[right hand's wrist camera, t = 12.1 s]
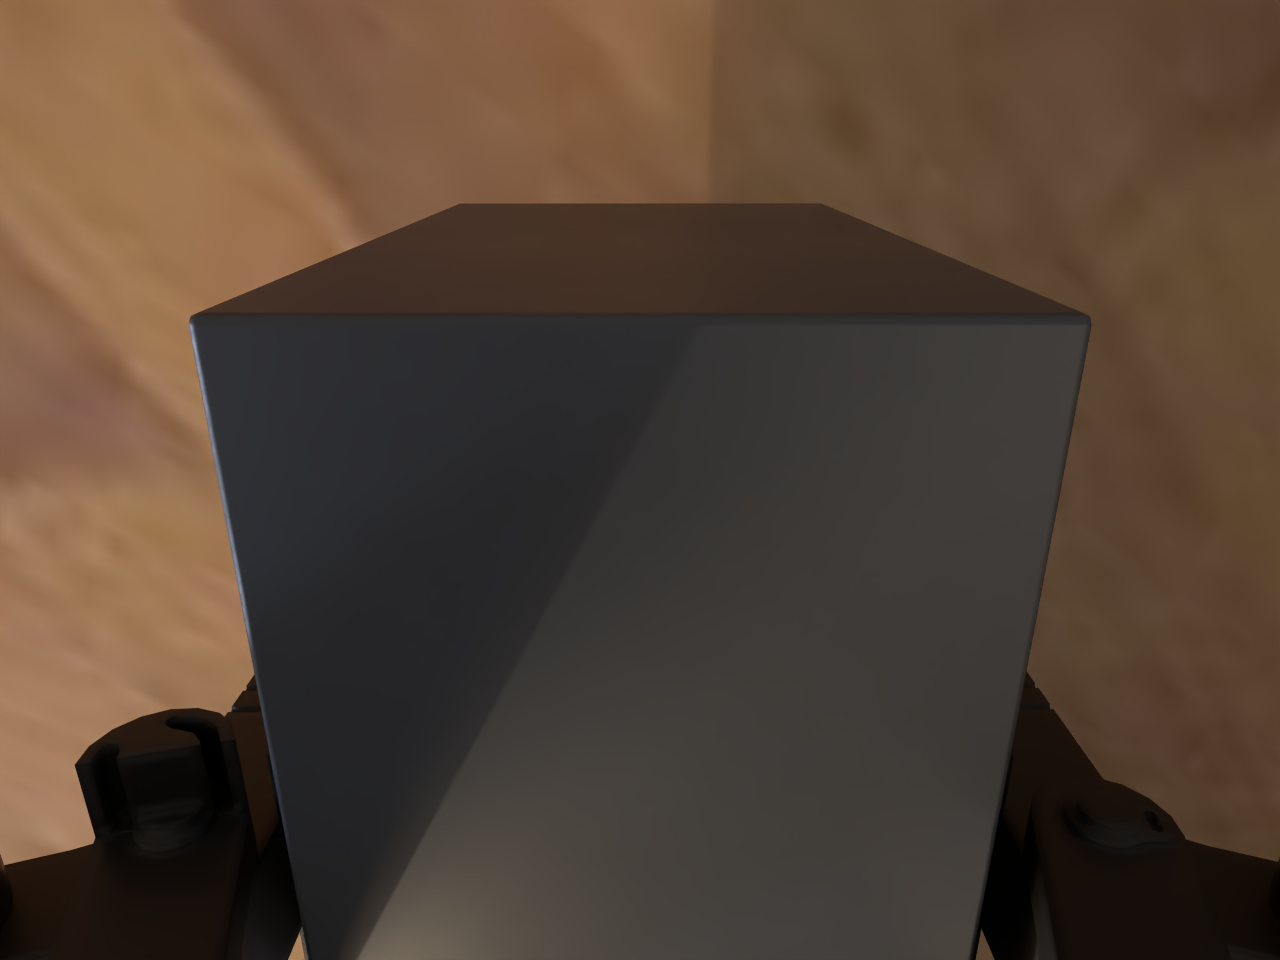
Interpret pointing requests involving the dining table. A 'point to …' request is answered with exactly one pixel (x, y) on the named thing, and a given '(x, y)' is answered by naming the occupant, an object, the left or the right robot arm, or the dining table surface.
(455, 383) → the beam
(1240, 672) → the dining table surface
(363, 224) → the dining table surface
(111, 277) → the dining table surface
